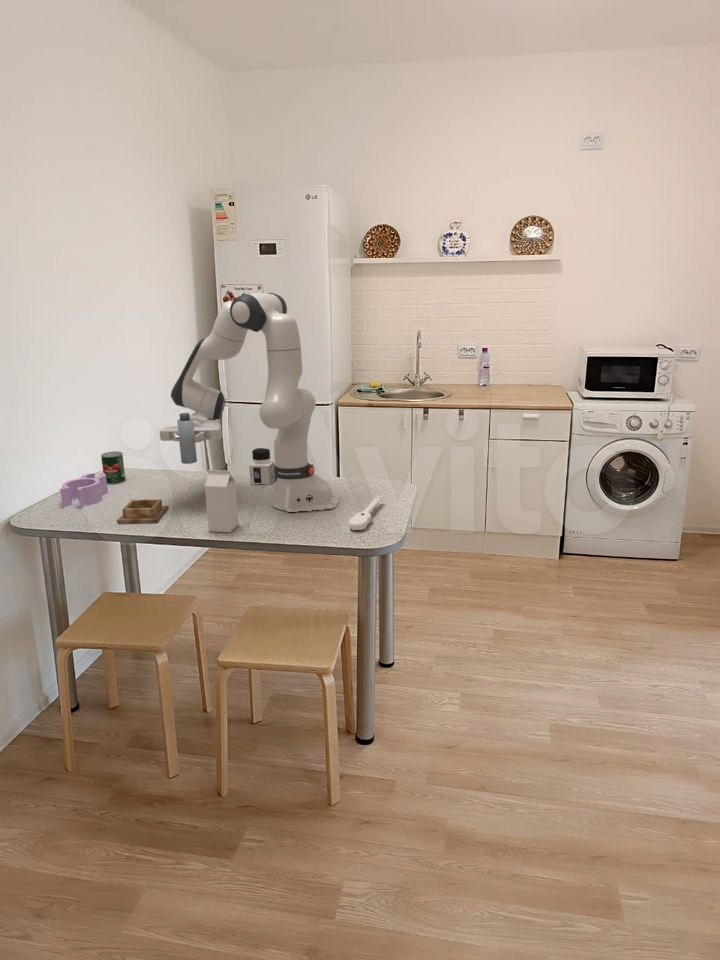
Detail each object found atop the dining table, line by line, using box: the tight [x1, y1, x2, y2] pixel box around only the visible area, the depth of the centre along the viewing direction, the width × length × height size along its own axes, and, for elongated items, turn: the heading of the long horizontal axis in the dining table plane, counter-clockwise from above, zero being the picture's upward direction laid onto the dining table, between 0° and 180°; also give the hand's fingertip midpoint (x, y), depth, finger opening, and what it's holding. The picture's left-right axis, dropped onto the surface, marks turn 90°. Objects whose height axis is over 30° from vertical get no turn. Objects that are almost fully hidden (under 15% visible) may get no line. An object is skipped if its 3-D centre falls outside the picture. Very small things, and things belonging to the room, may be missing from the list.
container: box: [248, 447, 275, 486], centre depth 269 cm, size 8×8×13 cm
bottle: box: [176, 412, 198, 465], centre depth 232 cm, size 5×5×16 cm
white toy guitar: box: [348, 495, 384, 531], centre depth 230 cm, size 28×6×3 cm, turn 162°
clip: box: [59, 472, 109, 509], centre depth 255 cm, size 20×12×7 cm, turn 172°
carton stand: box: [116, 498, 170, 525], centre depth 236 cm, size 13×14×4 cm
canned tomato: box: [100, 451, 126, 485], centre depth 275 cm, size 8×8×11 cm
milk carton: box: [204, 469, 239, 533], centre depth 221 cm, size 7×7×19 cm
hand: (186, 438), depth 231 cm, fingers closed on bottle, 5 cm apart
